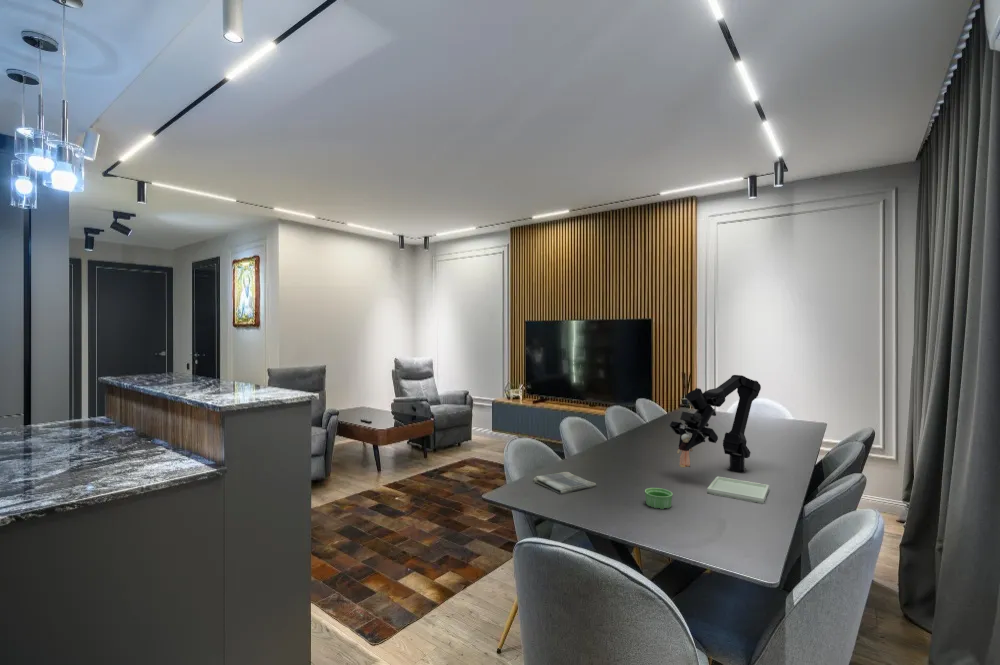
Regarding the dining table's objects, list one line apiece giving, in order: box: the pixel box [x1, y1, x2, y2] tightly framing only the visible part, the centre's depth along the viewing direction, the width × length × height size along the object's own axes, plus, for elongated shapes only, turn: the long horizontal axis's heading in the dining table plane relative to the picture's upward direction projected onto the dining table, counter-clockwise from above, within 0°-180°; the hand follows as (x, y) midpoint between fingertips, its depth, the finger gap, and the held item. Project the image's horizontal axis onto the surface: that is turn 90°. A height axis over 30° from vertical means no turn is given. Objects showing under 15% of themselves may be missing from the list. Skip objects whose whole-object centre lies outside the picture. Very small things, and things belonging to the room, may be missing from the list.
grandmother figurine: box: [676, 433, 694, 468], centre depth 186 cm, size 8×4×13 cm, turn 127°
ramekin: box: [644, 487, 674, 510], centre depth 162 cm, size 9×9×4 cm
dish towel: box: [532, 471, 597, 495], centre depth 183 cm, size 19×18×3 cm
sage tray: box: [706, 476, 770, 505], centre depth 176 cm, size 18×18×2 cm
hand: (682, 448), depth 186 cm, fingers closed on grandmother figurine, 3 cm apart
